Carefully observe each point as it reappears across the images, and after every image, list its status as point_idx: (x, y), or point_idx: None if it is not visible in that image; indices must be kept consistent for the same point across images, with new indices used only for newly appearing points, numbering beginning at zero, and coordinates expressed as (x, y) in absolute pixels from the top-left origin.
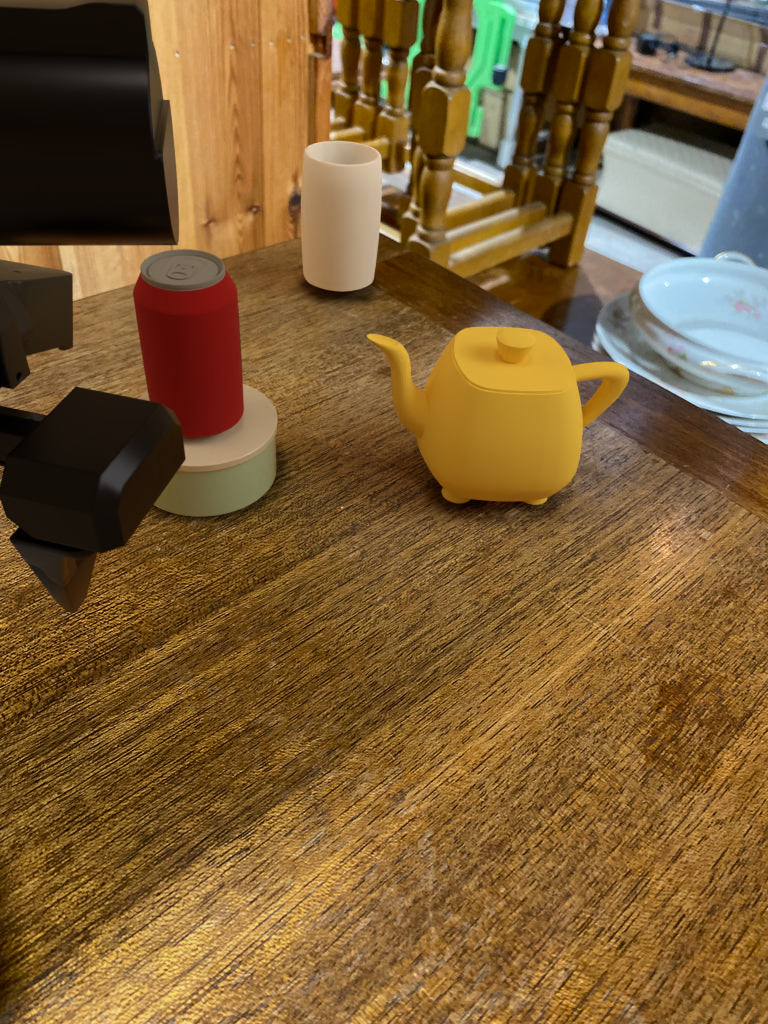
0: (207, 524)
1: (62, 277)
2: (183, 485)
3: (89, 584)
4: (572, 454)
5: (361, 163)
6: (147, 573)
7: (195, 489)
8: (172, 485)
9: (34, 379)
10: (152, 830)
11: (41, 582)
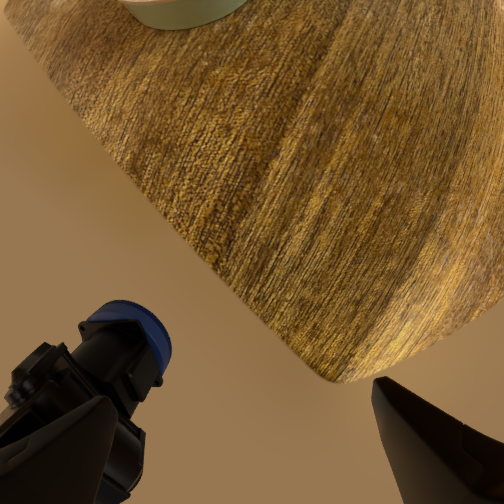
0: (229, 22)
1: None
2: (198, 4)
3: (400, 385)
4: None
5: None
6: (214, 90)
7: (211, 2)
8: (187, 9)
9: (28, 19)
10: (359, 297)
11: (399, 489)
